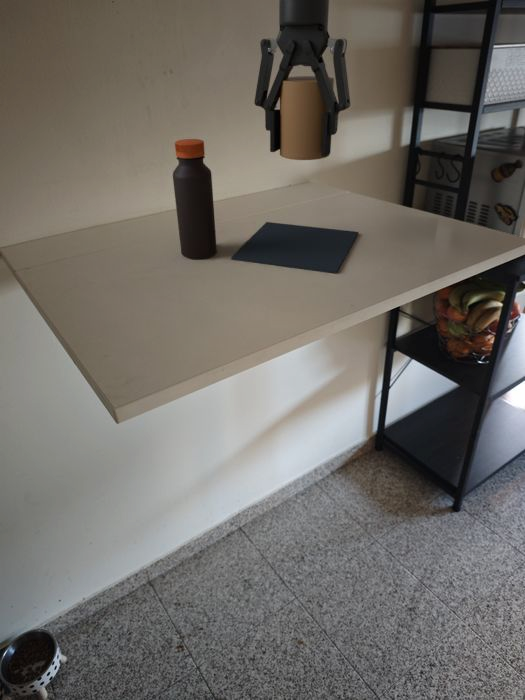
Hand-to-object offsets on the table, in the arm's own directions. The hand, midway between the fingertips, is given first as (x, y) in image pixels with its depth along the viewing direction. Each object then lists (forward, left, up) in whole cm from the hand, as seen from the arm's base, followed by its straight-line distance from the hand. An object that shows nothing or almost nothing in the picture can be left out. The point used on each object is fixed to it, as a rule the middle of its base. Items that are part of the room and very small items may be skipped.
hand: (299, 152), depth 87 cm
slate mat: (0, 0, -18) cm, 18 cm away
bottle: (+17, +9, -18) cm, 26 cm away
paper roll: (0, -2, +5) cm, 6 cm away
